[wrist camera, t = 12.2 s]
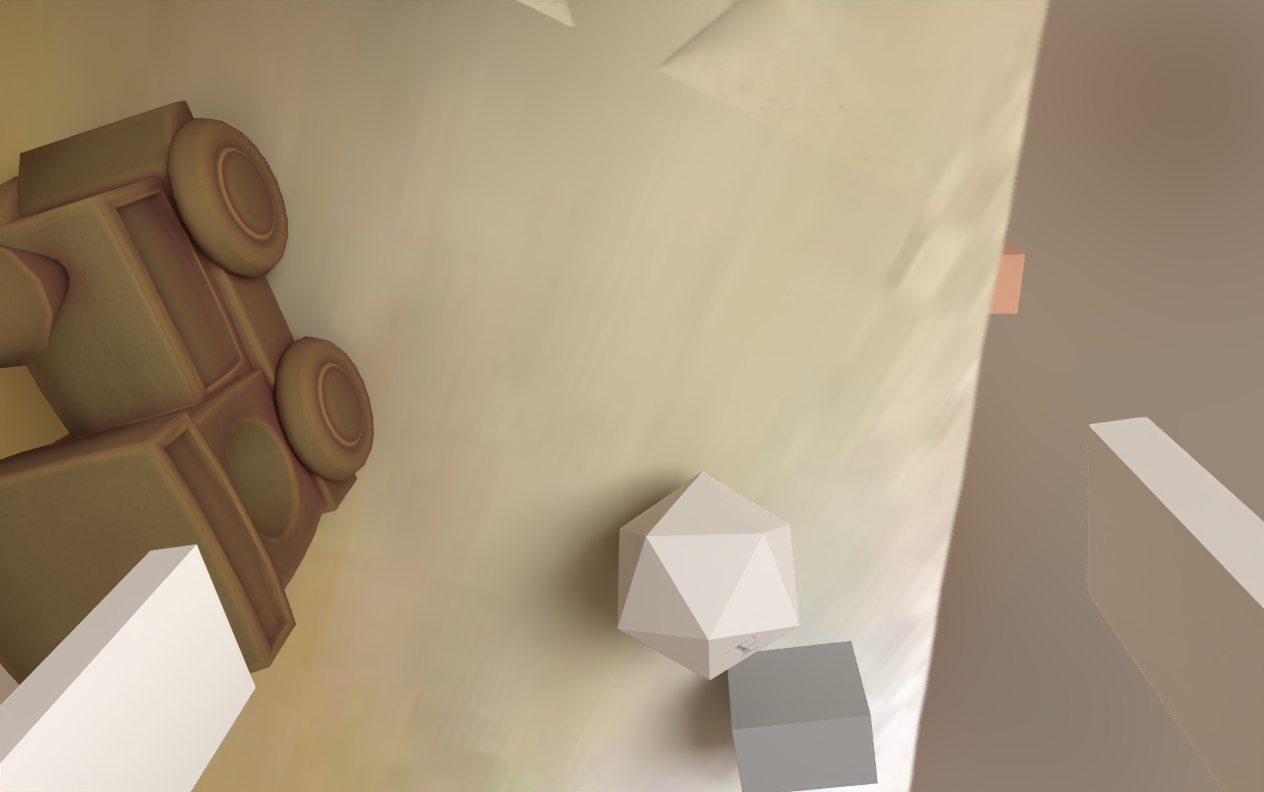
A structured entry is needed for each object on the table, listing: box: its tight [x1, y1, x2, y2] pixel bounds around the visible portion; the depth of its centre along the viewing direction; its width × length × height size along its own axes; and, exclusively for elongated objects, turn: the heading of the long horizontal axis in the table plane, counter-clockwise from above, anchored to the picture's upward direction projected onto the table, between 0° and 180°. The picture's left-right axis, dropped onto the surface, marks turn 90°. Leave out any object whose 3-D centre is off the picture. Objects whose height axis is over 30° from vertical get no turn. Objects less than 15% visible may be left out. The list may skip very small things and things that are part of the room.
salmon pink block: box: [989, 239, 1025, 314], centre depth 72 cm, size 7×4×6 cm, turn 92°
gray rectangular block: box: [728, 641, 878, 792], centre depth 51 cm, size 4×7×6 cm, turn 100°
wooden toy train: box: [0, 101, 374, 685], centre depth 39 cm, size 20×11×17 cm, turn 17°
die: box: [617, 472, 800, 680], centre depth 45 cm, size 8×9×10 cm
